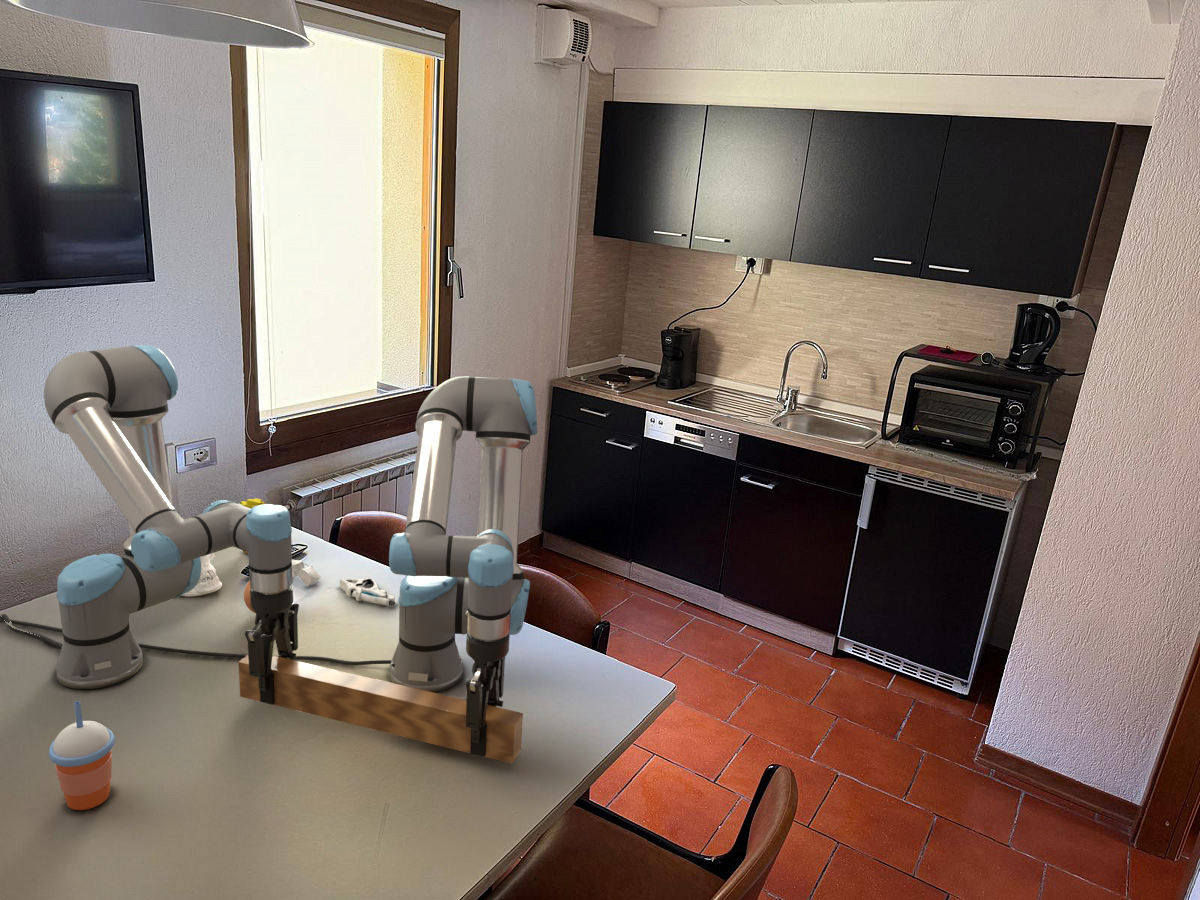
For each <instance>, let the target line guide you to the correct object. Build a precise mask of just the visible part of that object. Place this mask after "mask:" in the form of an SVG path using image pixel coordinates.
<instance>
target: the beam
mask: <svg viewBox="0 0 1200 900" xmlns="http://www.w3.org/2000/svg"><path fill="white" fill-rule="evenodd" d="M246 655H247V656H246V657H244V658H241V659H240V660H239V661H237V663H238V664H237V665H238V681H239V683H238V685H239V697H240V698H243V699H247V700H252V701H256V702H260V690H259V683H258V677H254V676H250V674H249V659H248V654H246ZM277 656H278V655H274V654H273V655H272V665H271V673H274V691H275V703H274V704H273V705H272V706H275V707H276V706H277V707H280V708H284V709H288V710H293V711H296V712H301V713H305V714H309V715H313V716H316V717H320V718H326V719H330V720H334V721H337V722H341V723H345V724H349V725H353V726H359V727H362V728H366V729H369V730H374V731H378V732H382V733H386V734H390V735H395V736H400V737H403V738H406V739H411V740H416V741H419V742H423V743H426V744H427V743H428V744H432V745H435V746H439V747H443V748H448V749H451V750H456V751H460V752H464V753H468V754H470V745H471V728H467V727H466V700H467V699H464V698H459V697H454V696H450V695H446V694H442V693H438V692H429V691H425V690H421V689H416V688H412V687H408V686H403V685H399V684H395V683H393V682H390V681H386V680H381V679H377V678H373V677H368V676H363V675H359V674H355V673H350V672H346V671H341V670H338V669H333V668H329V667H325V666H321V665H316V664H311V663H307V662H303V661H300V660H290V659H286V658H282V657H277ZM523 722H524V713H523V712H520V711H516V710H511V709H507V708H502V707H499V706H497V707H494V706H490V705H487V710H486V718H485V723H486V724H487V736H486V755H485V757H484V758H489V759H492V760H496V761H501V762H505V763H508V764H514V762H515V760H516V758H517V757H518V755H519V754H520V752H521V750H522V740H523V724H524V723H523Z"/></svg>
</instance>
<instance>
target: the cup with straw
mask: <svg viewBox="0 0 1200 900" xmlns="http://www.w3.org/2000/svg"><path fill="white" fill-rule="evenodd" d="M73 707H74V716H75V722H73V723H71V724H69V725H68V726H65V728H63V729H62V730H61V731H60V732H59V733H58V734H57V736H56V738H55V739H54V740H53V741H52V743H51V745H50V746H49V748H48V758H49V759H50V761H51V762H52V763H53V764H54V767H55V772H56V777H57V780H58V783H59V787H60V790H61V792H62V793H63V796H64V799H65V803H66V806H67V807H68V808H70V809H71V810H74V811H85V810H90V809H93V808H95V807H98V806H100V805H101V804H103V803H104V802H105V801H106V800H107V799H108V797H110V794H111V779H112V774H113V773H112V772H113V771H112V767H113V752H112V751H113V748H114V746H115V743H116V740H115V739H116V738H115V737H116V736H115V735H114V733H113V732H112V730H110V729H109V728H107V727H106V726H105V725H103V724H102V723H101V722H97V721H94V720H83V713H82V712H83V711H82V703H81V701H79V700H78V701H75V702H74V703H73Z"/></svg>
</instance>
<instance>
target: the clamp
mask: <svg viewBox="0 0 1200 900" xmlns="http://www.w3.org/2000/svg"><path fill="white" fill-rule="evenodd" d="M305 566H306V567H305ZM292 571H293V578H296V577H298V578H299V579H300V580H301V582H303V584H304V585H305V587H309V586H312V585H314V584H316V583H318V582H319V580H320V579H321V578H322V577H321V575H320V574H319V573H318V572H317V570H315V569H314V568H313V566H312V565H310V564H309V565H308V564H307V563H305V562H304V561H303V560H301V559H300V560H299V559H292Z"/></svg>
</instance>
